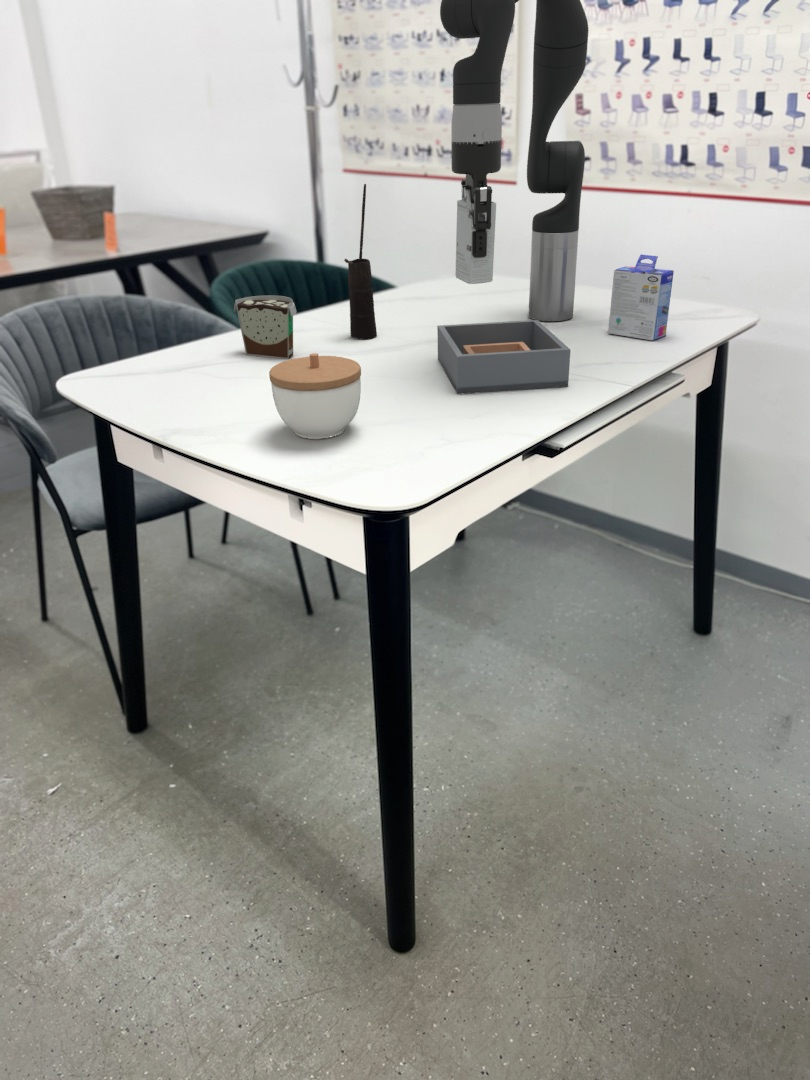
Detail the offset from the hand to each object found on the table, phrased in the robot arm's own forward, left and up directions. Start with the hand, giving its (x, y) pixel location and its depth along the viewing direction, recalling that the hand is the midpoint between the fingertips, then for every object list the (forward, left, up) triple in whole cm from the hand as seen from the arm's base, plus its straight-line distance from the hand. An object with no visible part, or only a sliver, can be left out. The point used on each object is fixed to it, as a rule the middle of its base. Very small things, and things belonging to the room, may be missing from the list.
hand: (475, 252), depth 132 cm
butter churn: (-27, -18, -20) cm, 38 cm away
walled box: (+2, +4, -19) cm, 20 cm away
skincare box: (0, 0, -4) cm, 4 cm away
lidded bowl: (+24, -27, -20) cm, 41 cm away
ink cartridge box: (-16, +35, -20) cm, 43 cm away
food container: (-19, -34, -20) cm, 44 cm away
